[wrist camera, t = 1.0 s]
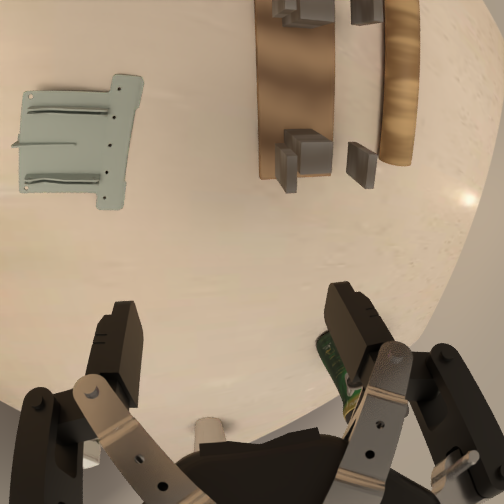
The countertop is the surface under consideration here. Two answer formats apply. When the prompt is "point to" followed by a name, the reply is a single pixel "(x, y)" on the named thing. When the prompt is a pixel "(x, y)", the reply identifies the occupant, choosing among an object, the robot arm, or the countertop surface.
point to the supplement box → (91, 453)
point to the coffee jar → (340, 375)
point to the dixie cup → (208, 432)
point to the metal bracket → (78, 141)
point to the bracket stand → (303, 90)
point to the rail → (400, 81)
